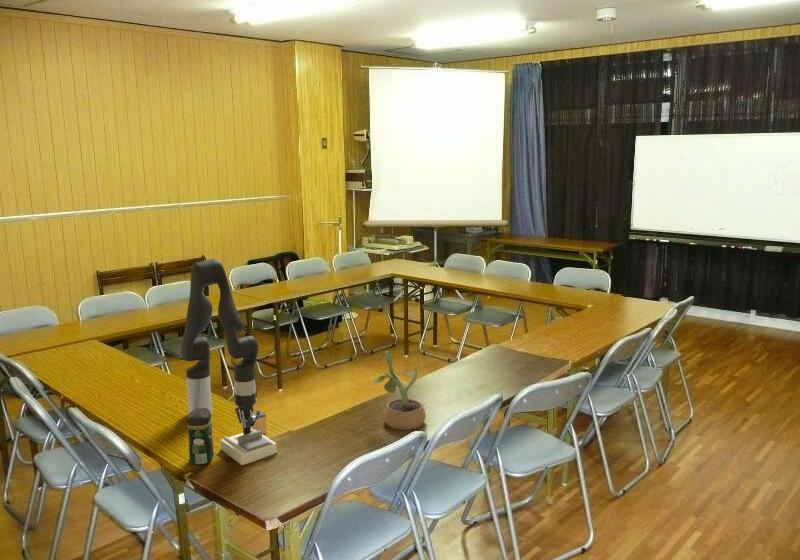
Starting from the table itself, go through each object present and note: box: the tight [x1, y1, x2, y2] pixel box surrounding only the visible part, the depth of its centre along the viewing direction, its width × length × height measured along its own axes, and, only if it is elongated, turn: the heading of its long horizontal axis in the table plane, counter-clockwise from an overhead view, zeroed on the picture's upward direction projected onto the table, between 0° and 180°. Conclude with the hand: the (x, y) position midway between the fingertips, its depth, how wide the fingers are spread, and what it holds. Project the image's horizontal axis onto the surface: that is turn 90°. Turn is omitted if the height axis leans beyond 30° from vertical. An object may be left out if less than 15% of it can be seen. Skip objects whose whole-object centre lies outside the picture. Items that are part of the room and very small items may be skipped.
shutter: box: [238, 430, 269, 451], centre depth 246 cm, size 6×9×3 cm
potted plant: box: [370, 350, 427, 431], centre depth 274 cm, size 22×18×30 cm
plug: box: [251, 409, 267, 434], centre depth 265 cm, size 4×4×9 cm
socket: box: [220, 427, 278, 466], centre depth 250 cm, size 16×14×5 cm
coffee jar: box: [186, 408, 214, 466], centre depth 242 cm, size 10×8×19 cm
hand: (247, 435), depth 249 cm, fingers closed
